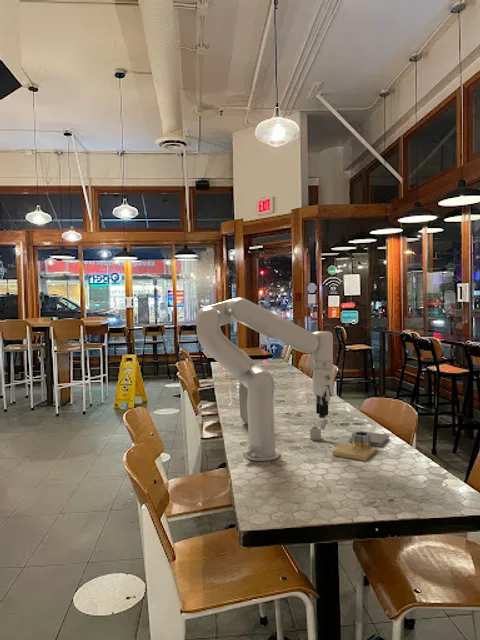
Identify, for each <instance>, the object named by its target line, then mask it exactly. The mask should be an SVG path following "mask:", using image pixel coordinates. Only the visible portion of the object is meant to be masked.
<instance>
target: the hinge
mask: <svg viewBox="0 0 480 640" xmlns="http://www.w3.org/2000/svg"><path fill="white" fill-rule="evenodd" d="M348 439H349V441H348V443H341V444H339V446H337V447H336V448H335V449H333V450H332V456H333V457H334V456H335V457H340V458H346V459H352V460H357V461H363V462H367V461H368V460H369V459H370V458H371V457H372V456H373V455H374V454H375V453H376V448H375V447H378V448H381V447H382V446H384V445H385V444H386V443H387V441H389V439H390V434H386V433H385V434H384V433H376V432H368V431H363V430H358V431H354V432H352V433H351V436H350V437H349V438H348Z"/></svg>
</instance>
